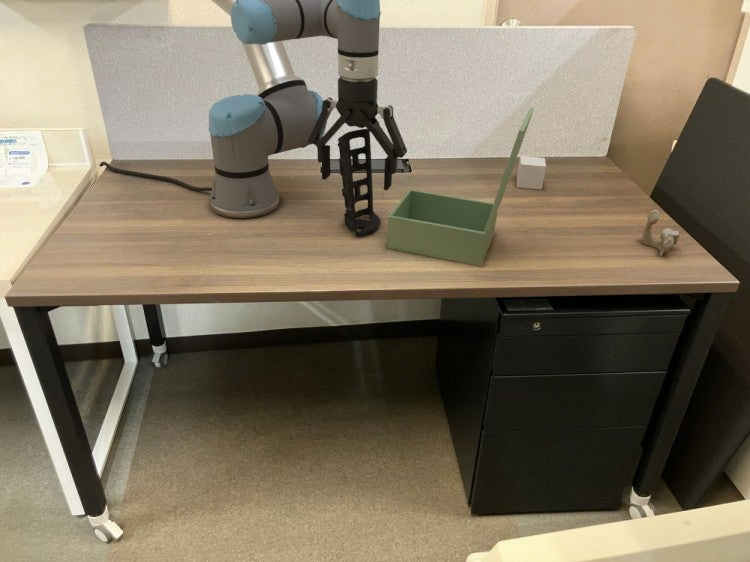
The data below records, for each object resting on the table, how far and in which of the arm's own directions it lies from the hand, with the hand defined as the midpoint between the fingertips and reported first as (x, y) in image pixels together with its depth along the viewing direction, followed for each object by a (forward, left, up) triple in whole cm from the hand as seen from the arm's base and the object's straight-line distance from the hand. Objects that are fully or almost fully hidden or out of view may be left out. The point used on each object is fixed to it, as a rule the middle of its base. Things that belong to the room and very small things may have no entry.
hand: (356, 182), depth 125 cm
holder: (+1, 0, -10) cm, 10 cm away
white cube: (+32, +38, -10) cm, 51 cm away
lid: (+30, 0, +8) cm, 31 cm away
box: (+19, 0, -10) cm, 21 cm away
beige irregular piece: (+62, +14, -10) cm, 64 cm away
